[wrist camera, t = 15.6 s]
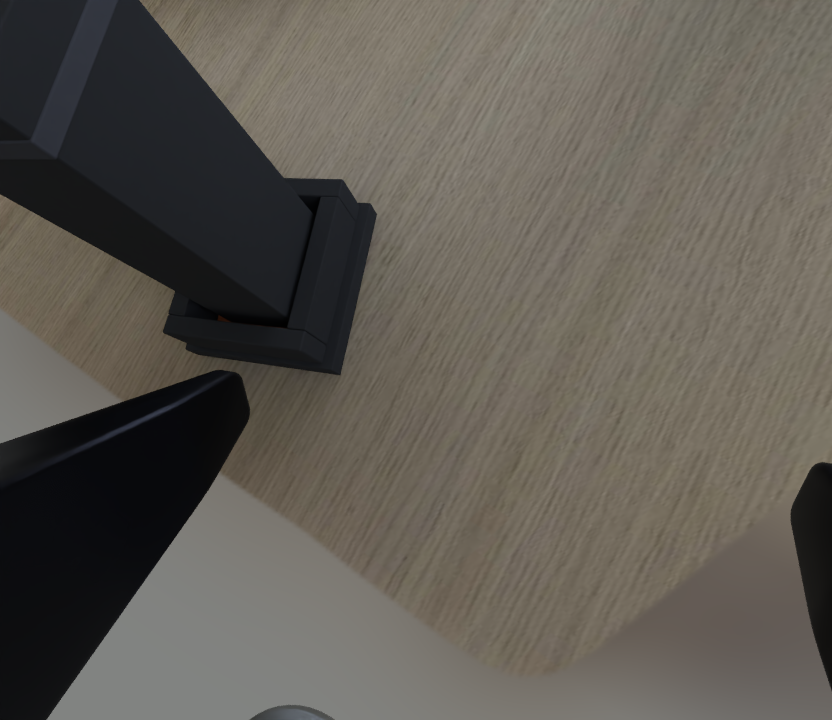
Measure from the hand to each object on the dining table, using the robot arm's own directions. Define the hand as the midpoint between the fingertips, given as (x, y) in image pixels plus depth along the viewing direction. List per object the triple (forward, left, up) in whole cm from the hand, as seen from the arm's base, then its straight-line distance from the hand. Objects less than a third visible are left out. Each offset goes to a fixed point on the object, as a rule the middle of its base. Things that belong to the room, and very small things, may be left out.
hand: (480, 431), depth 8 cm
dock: (+8, +12, -13) cm, 19 cm away
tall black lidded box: (+7, +12, -11) cm, 18 cm away
